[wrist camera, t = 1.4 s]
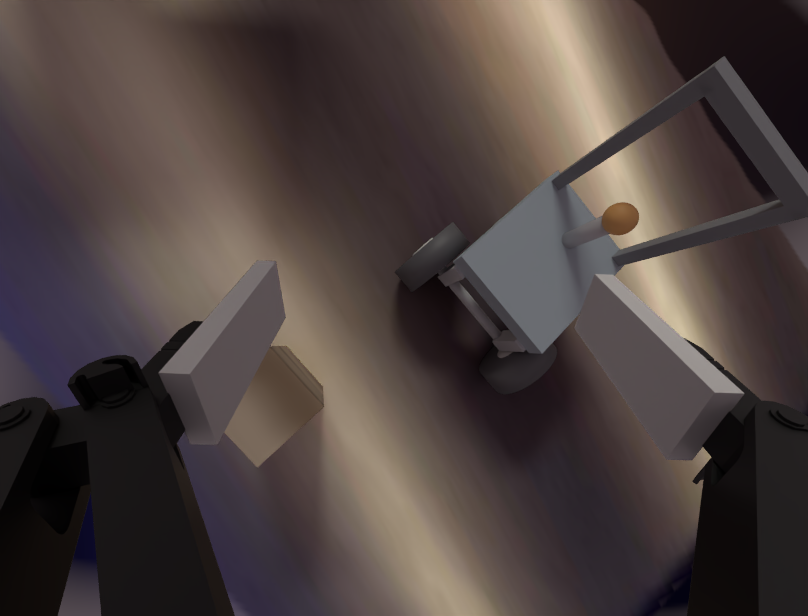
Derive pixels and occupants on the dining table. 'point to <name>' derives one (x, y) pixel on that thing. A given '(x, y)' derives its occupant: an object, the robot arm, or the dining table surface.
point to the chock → (274, 405)
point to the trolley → (593, 234)
